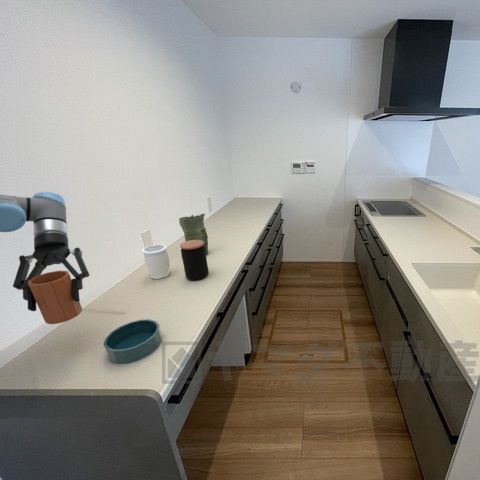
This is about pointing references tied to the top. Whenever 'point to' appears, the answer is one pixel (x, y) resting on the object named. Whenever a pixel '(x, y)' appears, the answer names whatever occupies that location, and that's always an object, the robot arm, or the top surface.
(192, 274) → the coffee jar
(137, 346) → the teal round bowl
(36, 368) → the top surface
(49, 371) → the top surface
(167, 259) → the jar
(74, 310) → the terracotta pot
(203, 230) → the pouch
